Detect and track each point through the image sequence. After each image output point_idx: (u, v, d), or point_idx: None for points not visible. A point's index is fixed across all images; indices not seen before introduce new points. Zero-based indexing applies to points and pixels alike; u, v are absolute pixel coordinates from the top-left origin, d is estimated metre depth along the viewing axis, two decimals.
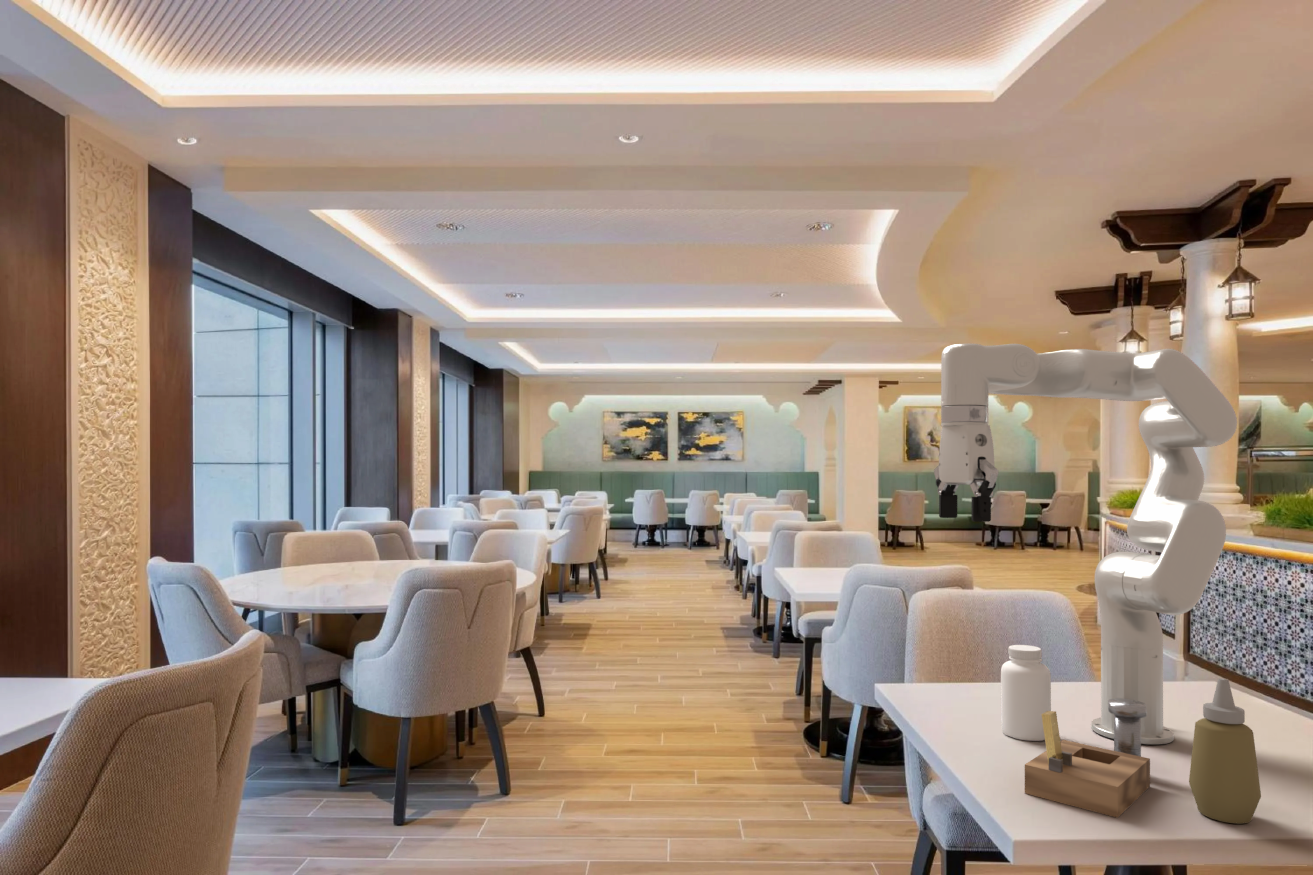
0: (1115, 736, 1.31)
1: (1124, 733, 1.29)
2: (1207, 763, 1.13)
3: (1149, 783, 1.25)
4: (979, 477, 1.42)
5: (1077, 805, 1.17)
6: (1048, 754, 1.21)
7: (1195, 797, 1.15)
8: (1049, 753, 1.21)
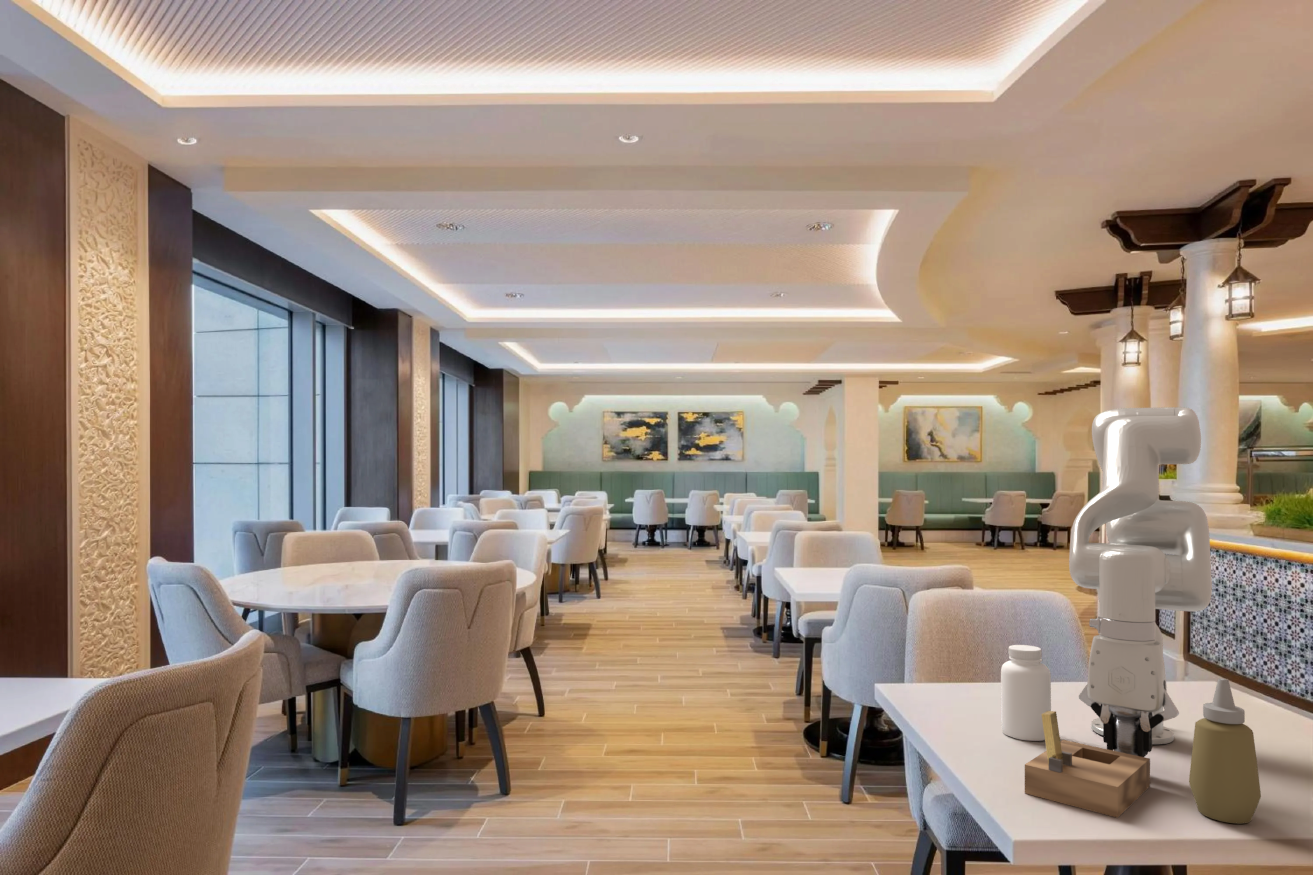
0: (1115, 736, 1.31)
1: (1124, 733, 1.29)
2: (1207, 763, 1.13)
3: (1149, 783, 1.25)
4: None
5: (1077, 805, 1.17)
6: (1048, 754, 1.21)
7: (1195, 797, 1.15)
8: (1049, 753, 1.21)
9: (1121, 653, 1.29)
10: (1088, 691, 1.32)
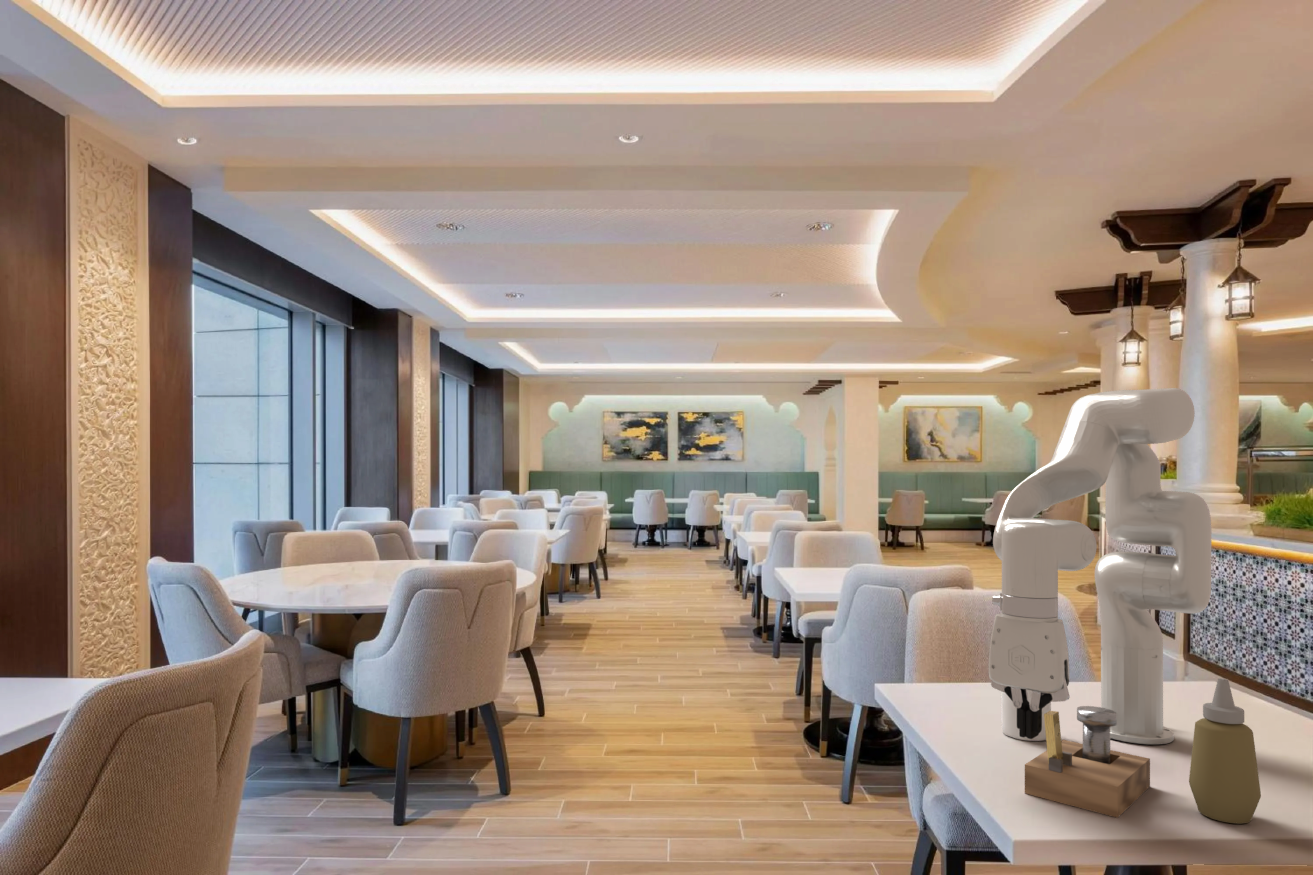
0: (1084, 745, 1.26)
1: (1092, 742, 1.25)
2: (1207, 763, 1.13)
3: (1149, 783, 1.25)
4: None
5: (1077, 805, 1.17)
6: (1048, 754, 1.21)
7: (1195, 797, 1.15)
8: (1050, 753, 1.21)
9: (1021, 631, 1.22)
10: (989, 672, 1.26)
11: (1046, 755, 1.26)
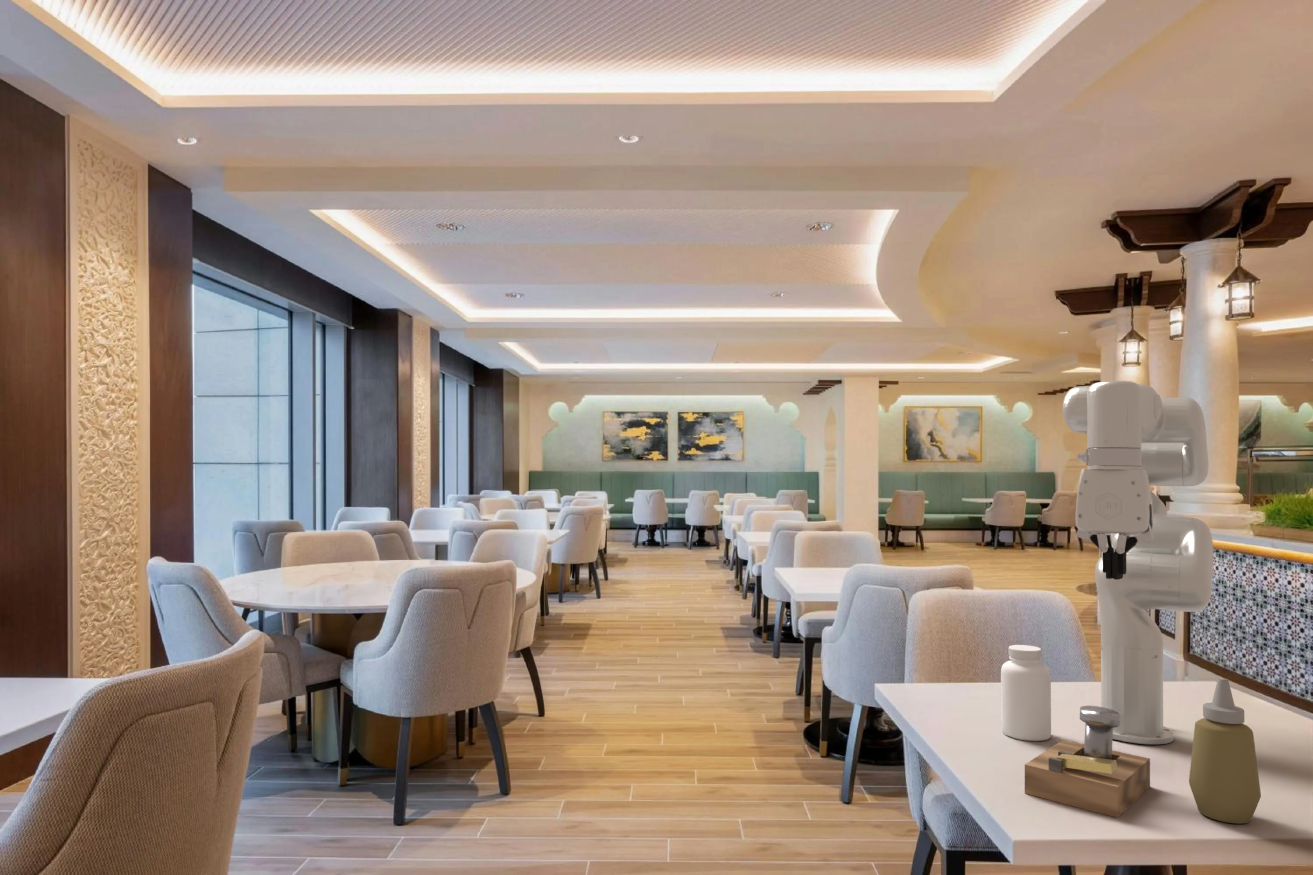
0: (1086, 745, 1.26)
1: (1094, 742, 1.24)
2: (1207, 763, 1.13)
3: (1149, 783, 1.25)
4: None
5: (1077, 805, 1.17)
6: (1067, 760, 1.19)
7: (1195, 797, 1.15)
8: (1069, 761, 1.19)
9: (1108, 480, 1.32)
10: (1076, 521, 1.35)
11: (1046, 755, 1.26)
